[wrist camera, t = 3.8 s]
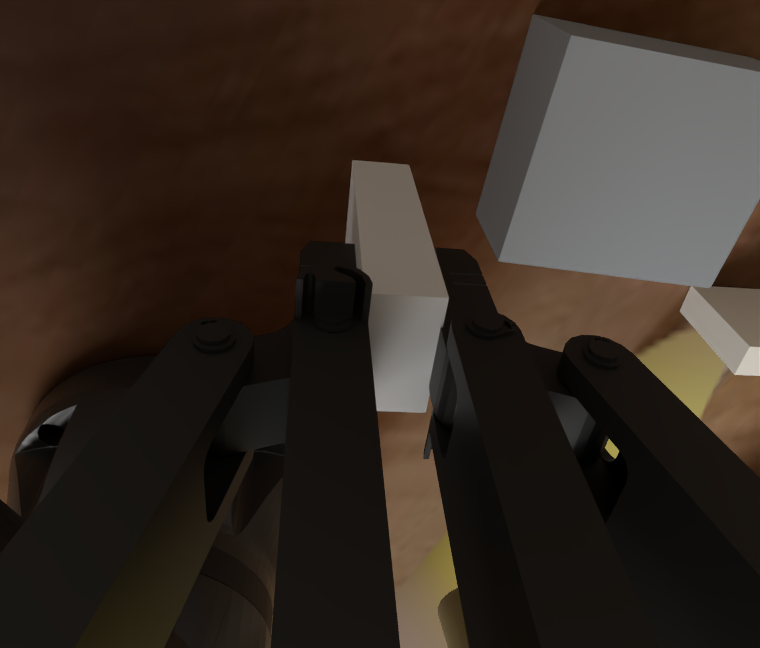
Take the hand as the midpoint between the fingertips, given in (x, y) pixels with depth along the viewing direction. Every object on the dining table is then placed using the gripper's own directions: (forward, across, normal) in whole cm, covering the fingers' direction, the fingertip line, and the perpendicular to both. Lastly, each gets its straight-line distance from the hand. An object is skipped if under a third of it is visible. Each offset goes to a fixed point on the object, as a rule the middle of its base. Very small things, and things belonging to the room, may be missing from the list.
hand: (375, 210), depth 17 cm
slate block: (+9, +10, 0) cm, 14 cm away
